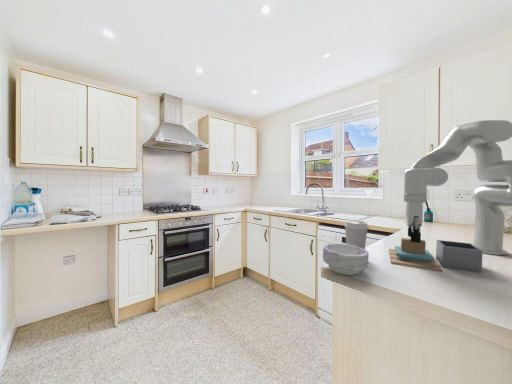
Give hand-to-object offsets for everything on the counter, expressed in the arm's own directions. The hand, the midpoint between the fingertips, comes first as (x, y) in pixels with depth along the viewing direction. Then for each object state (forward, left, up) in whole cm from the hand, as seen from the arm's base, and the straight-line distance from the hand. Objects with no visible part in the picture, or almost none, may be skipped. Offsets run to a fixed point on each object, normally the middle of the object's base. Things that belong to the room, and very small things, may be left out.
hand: (413, 239), depth 94 cm
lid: (0, 0, -8) cm, 8 cm away
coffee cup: (+9, -21, -9) cm, 25 cm away
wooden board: (0, 0, -8) cm, 8 cm away
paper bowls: (+27, -23, -9) cm, 37 cm away
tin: (-1, +14, -8) cm, 16 cm away
